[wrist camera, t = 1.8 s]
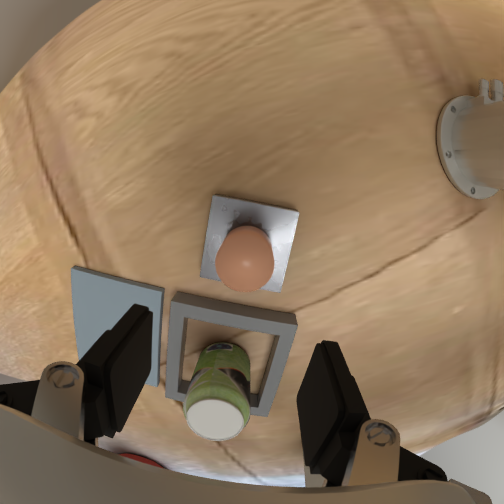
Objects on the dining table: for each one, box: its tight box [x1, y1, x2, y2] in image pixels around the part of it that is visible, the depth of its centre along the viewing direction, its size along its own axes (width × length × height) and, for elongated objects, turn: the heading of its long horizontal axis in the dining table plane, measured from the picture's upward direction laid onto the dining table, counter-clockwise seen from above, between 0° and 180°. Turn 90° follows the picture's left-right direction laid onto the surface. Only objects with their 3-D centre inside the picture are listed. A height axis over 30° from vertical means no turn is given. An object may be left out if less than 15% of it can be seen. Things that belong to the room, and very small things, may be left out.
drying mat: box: [71, 266, 165, 387], centre depth 32 cm, size 14×12×1 cm
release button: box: [215, 226, 274, 292], centre depth 24 cm, size 4×4×4 cm
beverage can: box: [183, 342, 251, 441], centre depth 27 cm, size 6×7×12 cm
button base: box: [200, 194, 299, 293], centre depth 28 cm, size 8×8×2 cm
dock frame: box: [165, 291, 298, 417], centre depth 32 cm, size 14×13×2 cm
